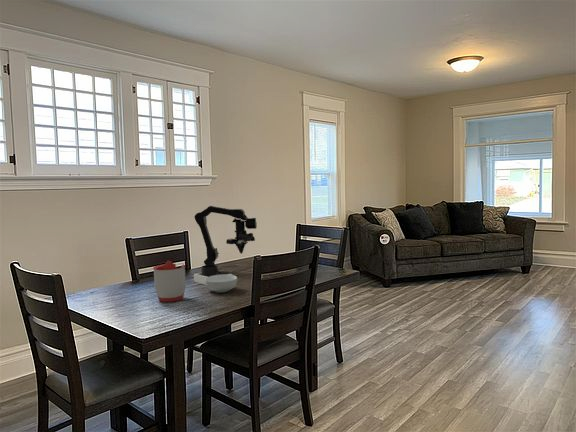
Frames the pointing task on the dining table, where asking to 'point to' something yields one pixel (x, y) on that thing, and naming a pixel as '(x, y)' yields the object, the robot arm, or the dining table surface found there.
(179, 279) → the citrus juicer
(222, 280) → the cereal bowl
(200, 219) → the robot arm
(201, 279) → the tray
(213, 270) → the mug
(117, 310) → the dining table surface
